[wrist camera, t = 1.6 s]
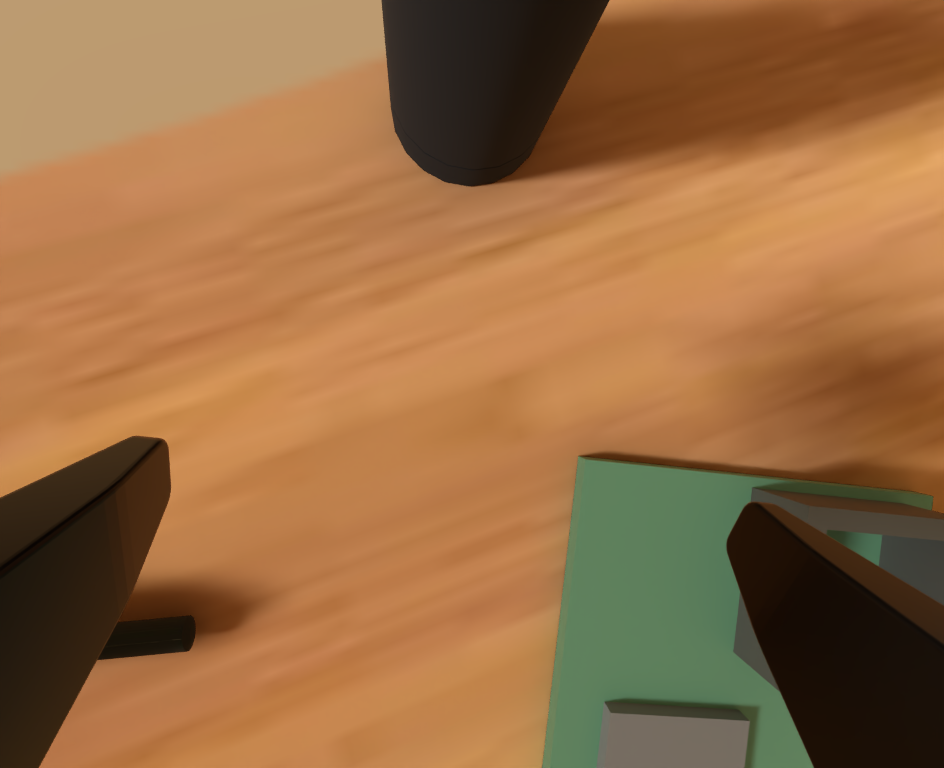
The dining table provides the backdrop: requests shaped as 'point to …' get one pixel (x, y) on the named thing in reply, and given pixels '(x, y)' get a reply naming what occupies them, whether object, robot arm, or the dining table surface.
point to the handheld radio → (150, 637)
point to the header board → (695, 612)
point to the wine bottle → (480, 78)
